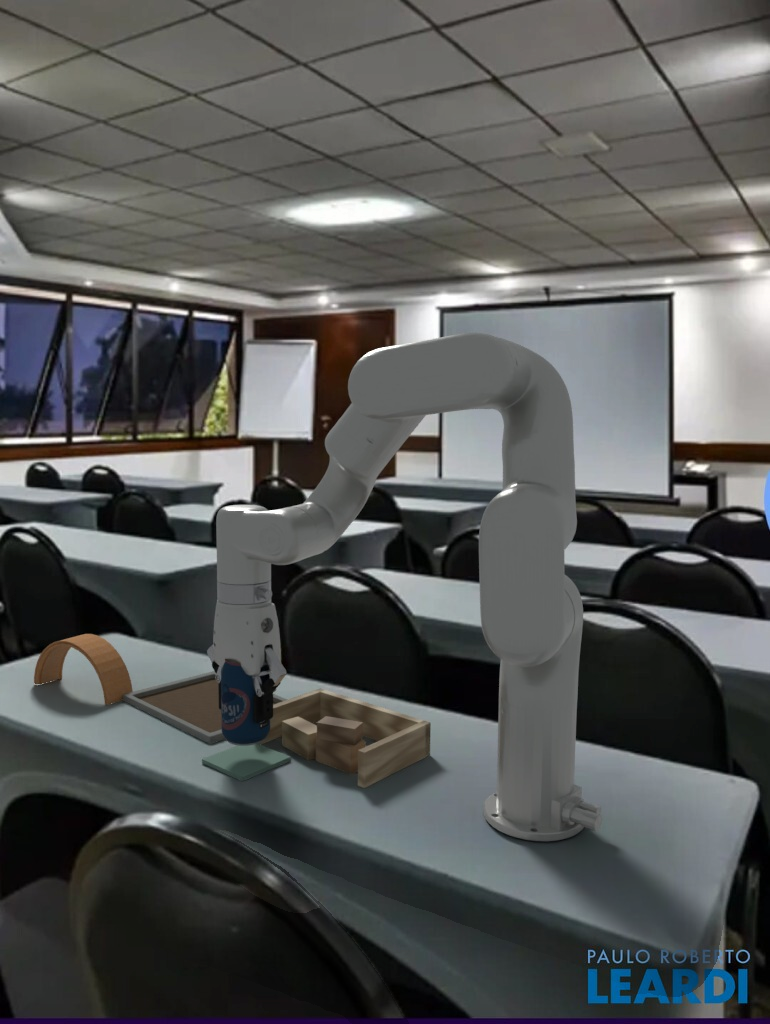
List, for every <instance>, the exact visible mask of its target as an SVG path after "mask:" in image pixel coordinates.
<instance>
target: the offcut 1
mask: <svg viewBox="0 0 770 1024" xmlns="http://www.w3.org/2000/svg"><path fill="white" fill-rule="evenodd" d="M316 735H317V724H316V723H315V724H313V723H311V722H309V721H306V720H304V719H302V718H300V717H294V718H291V719H287V720H284V721H282V736H281V743H282V744H281V745H282V747H284V748H286V749H288V750H289V751H291V752H293V753H295V754H297V755H298V756H300V757H303V758H304V759H306V760H308V761H310V760H313V759H316Z"/></svg>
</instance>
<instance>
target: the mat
mask: <svg viewBox="0 0 770 1024" xmlns="http://www.w3.org/2000/svg"><path fill="white" fill-rule="evenodd" d="M291 759H292V758H291V755H287V754H285V753H282V752H279V751H278V750H275V749H272V748H269V747H267V746H264V745H263V744H261V745H260V744H254V745H248V746H239V745H234V746H233V747H230V748H227V749H224V750H222V751H220V752H218V753H215V754H212V755H211V754H210V755H209V756H207V757H204V758H202V759H201V763H202V764H203V765H205V766H208V767H210V768H212V769H215V770H217V771H219V772H221V773H223V774H225V775H228V776H229V777H232V778H234V779H237V780H239V781H241V782H243V781H247V780H248V779H251V778H253V777H256V776H259V775H260V774H263V773H265V772H267V771H270V770H273V769H274V768H277V767H279V766H282V765H284V764H287V763H289V762H291Z"/></svg>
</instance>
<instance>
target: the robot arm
mask: <svg viewBox="0 0 770 1024" xmlns="http://www.w3.org/2000/svg"><path fill="white" fill-rule="evenodd" d="M347 382H348V383H347V391H348V396H349V399H350V402H351V403H350V404H349V406H348V407H347V408H346V410H345V411H344V413H343V414H342V415H341V417H340V418H339V419H338V420H337V422H336V423H335V424H334V426H333V427H332V428H331V429H330V430H329V432H328V433H327V434H326V436H325V438H324V447H325V450H326V452H327V454H328V455H329V463H328V466H327V469H326V471H325V474H324V475H323V477H322V478H321V480H320V482H319V483H318V484H317V486H316V487H315V488H314V490H313V491H312V492H311V493H310V494H309V496H308V497H307V498H306V500H305V501H303V503H300V504H297V505H292V506H287V507H283V508H278V509H272V510H268V508H266V507H264V506H262V505H256V504H233V505H226V506H223V507H221V508H220V509H219V510H218V511H217V514H216V522H215V523H216V524H215V525H216V530H215V531H216V535H215V536H216V590H217V591H216V592H217V595H216V596H217V599H216V605H215V611H214V619H213V631H212V632H213V636H212V639H213V640H212V642H213V644H211V646H209V647H208V649H207V650H206V654H207V656H208V659H209V660H210V662H211V667H212V669H213V671H215V673H216V677H215V678H216V681H217V682H220V683H218V690H219V709H221V669H222V667H223V665H224V663H225V659H226V660H227V661H229V662H232V663H241V667H242V668H243V670H244V672H245V673H246V674H247V675H249V676H252V681H253V684H254V687H255V691H256V694H257V695H254V696H253V720H254V722H255V723H260V722H263V721H266V720H269V719H271V718H272V717H273V694H274V693H275V692H276V691H277V688H278V687H279V686H280V685H281V683H282V681H283V680H284V678H285V676H286V675H287V670H286V668H285V667H284V665H283V664H282V653H281V651H282V648H281V638H280V627H279V619H278V615H277V610H276V609H277V608H276V605H275V603H273V602H272V597H273V591H272V565H275V566H286V565H291V564H295V563H297V562H300V561H303V560H305V559H307V558H312V557H313V556H314V557H315V556H317V555H320V554H323V553H324V552H325V551H328V550H329V549H330V548H331V547H332V546H334V544H335V543H336V542H337V541H338V540H339V539H340V538H341V537H342V535H343V534H344V533H345V531H346V530H347V529H349V527H350V526H351V524H352V523H353V522H354V521H355V519H356V518H357V516H359V514H360V512H361V511H362V509H364V507H365V504H366V503H367V502H368V499H369V497H370V495H371V493H372V491H373V490H374V489H373V488H374V486H375V484H376V480H377V478H378V477H379V475H380V474H381V473H382V471H383V470H384V469H385V467H386V466H387V465H388V463H389V462H390V461H391V459H392V458H393V457H394V456H395V454H396V453H397V452H398V451H399V450H400V449H401V447H402V446H403V445H404V443H405V442H406V441H407V440H408V439H409V437H410V436H411V435H412V433H413V432H414V431H415V430H416V428H417V427H418V426H419V424H421V422H422V421H423V420H424V418H425V417H426V416H429V415H430V416H431V415H435V414H436V415H437V414H443V413H451V412H458V411H468V410H495V411H497V412H499V413H500V415H501V417H502V420H503V432H502V440H501V441H502V443H501V446H502V447H501V460H502V488H501V489H502V490H501V492H499V493H498V494H496V495H495V496H494V497H493V498H492V499H491V500H490V501H489V503H488V504H487V506H486V508H485V510H484V512H483V514H482V518H481V520H480V525H479V532H478V535H479V536H478V564H479V565H478V569H479V571H478V573H479V576H478V577H479V613H480V624H481V631H482V634H483V638H484V640H485V642H486V643H487V646H488V647H489V648H490V650H491V652H493V654H494V655H495V656H496V657H498V658H499V659H500V664H499V665H500V666H499V679H498V681H499V682H498V683H499V684H498V686H499V687H498V717H497V718H498V719H497V721H498V723H497V727H498V728H497V762H496V763H497V765H496V766H497V767H496V768H497V769H496V791H495V792H493V793H492V794H490V795H489V796H487V798H486V799H485V801H484V802H483V815H484V818H485V820H486V821H487V823H488V824H490V825H491V826H492V828H494V829H496V830H497V831H499V832H501V833H502V834H504V835H505V834H506V835H507V836H509V837H513V838H517V839H520V840H521V839H522V840H525V841H534V842H556V841H560V840H561V841H562V840H565V839H569V838H572V837H574V836H575V835H577V834H579V833H580V832H581V831H583V830H584V828H585V829H589V830H592V831H595V832H598V831H599V830H600V829H601V827H602V824H603V816H602V815H601V814H602V807H601V806H600V805H597V804H593V803H589V802H586V801H585V800H584V799H583V797H582V792H583V787H582V786H580V785H577V784H575V769H576V768H575V767H576V766H575V765H576V744H577V742H576V741H577V740H576V739H577V738H576V736H577V712H578V711H577V709H578V694H579V693H578V691H579V689H578V687H579V670H580V655H581V646H582V645H581V644H582V637H583V636H582V635H583V627H584V626H583V625H584V607H583V600H582V595H581V593H580V590H579V589H578V587H577V585H576V583H574V581H573V580H572V579H571V578H570V577H569V576H568V575H566V574H565V571H566V570H565V550H566V549H567V548H568V547H569V546H570V544H571V542H573V539H574V537H575V535H576V531H577V525H578V519H577V517H578V516H577V504H576V503H577V501H576V472H575V471H576V470H575V467H576V464H575V463H576V461H575V449H574V448H575V447H574V446H575V445H574V444H575V443H574V441H575V440H574V419H573V418H574V417H573V407H572V402H571V398H570V394H569V391H568V390H569V389H568V388H567V386H566V384H565V381H564V379H563V378H562V376H561V375H560V373H559V372H558V370H557V369H556V368H555V367H554V366H553V364H552V363H551V362H549V360H547V359H546V358H544V357H543V356H541V355H540V354H538V353H537V352H535V351H533V350H531V349H529V348H527V347H525V346H523V345H521V344H518V343H516V342H513V341H511V340H508V339H505V338H502V337H498V336H494V335H491V334H488V333H483V332H481V333H480V332H465V333H459V334H452V335H447V336H442V337H436V338H430V339H424V340H420V341H415V342H409V343H401V344H398V345H390V346H385V347H379V348H375V349H373V350H371V351H368V352H366V354H364V355H363V356H362V357H360V358H359V359H358V360H357V362H356V363H355V364H354V366H353V367H352V369H351V372H350V374H349V377H348V381H347ZM260 667H264V668H265V671H262V672H260ZM261 676H265V683H264V684H263V685H262V682H261V679H260V677H261Z"/></svg>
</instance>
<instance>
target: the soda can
mask: <svg viewBox="0 0 770 1024" xmlns="http://www.w3.org/2000/svg"><path fill="white" fill-rule="evenodd" d="M262 671H265V668H264V667H260V672H262ZM260 679H261V682H262V685H263V684H264V683H265V676H261V677H260ZM254 695H257V694H256V691H255V687H254V684H253V681H252V676H249V675H247V674H246V673H245V672H244V670H243V668H242V667H241V663H232V662H229V661H227V660H226V659H225V663H224V665H223V667H222V669H221V722H222V734H223V735H224V737H225V738H226V739H225V740H226V741H227V742H228V743H229V744H230V745H234V746H238V745H239V746H248V745H254V744H258V743H260V742H262V741H264V740H265V738H266V736H267V735H268V733H269V731H270V719H269V720H266V721H263V722H260V723H255V722H254V720H253V696H254Z"/></svg>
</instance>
